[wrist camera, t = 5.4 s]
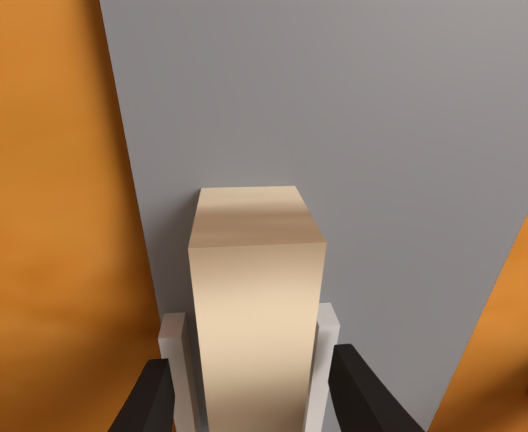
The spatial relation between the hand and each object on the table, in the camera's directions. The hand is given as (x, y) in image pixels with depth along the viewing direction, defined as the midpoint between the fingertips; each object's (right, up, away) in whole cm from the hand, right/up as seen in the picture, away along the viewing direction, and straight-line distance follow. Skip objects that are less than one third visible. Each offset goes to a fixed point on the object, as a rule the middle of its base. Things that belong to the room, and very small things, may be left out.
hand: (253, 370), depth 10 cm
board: (+3, -1, +4) cm, 6 cm away
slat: (0, +1, +2) cm, 2 cm away
